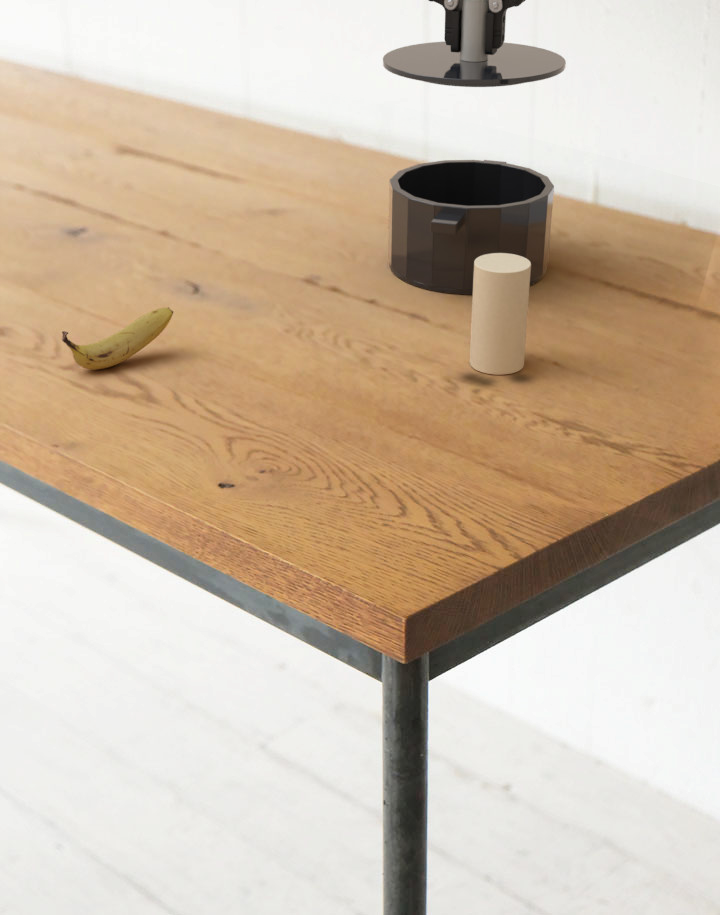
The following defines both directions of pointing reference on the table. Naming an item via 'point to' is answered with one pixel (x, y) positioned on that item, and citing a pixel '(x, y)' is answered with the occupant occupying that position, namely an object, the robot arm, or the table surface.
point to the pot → (466, 220)
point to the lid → (473, 58)
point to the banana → (121, 341)
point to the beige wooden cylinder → (499, 313)
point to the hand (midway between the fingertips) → (474, 51)
